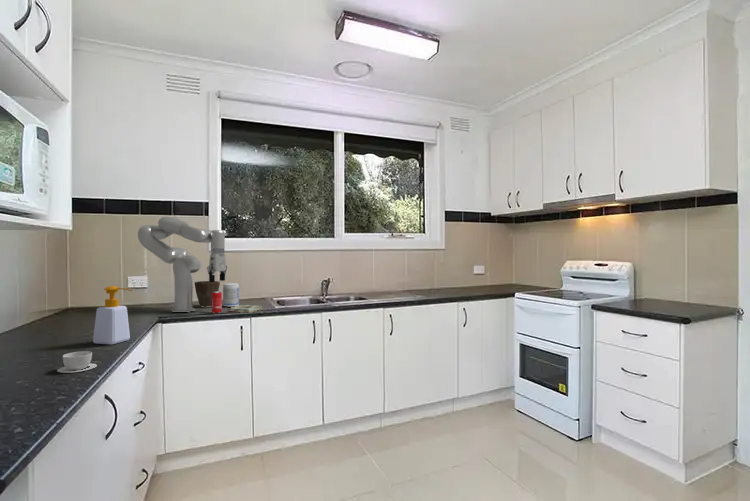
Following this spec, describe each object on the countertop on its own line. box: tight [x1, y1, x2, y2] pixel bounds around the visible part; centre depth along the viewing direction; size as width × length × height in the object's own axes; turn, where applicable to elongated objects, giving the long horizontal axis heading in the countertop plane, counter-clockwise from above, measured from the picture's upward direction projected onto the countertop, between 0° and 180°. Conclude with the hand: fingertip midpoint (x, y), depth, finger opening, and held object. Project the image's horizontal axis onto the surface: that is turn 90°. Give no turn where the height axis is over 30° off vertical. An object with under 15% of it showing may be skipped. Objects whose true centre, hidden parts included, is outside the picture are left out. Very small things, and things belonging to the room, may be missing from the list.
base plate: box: [227, 304, 263, 314], centre depth 245 cm, size 14×14×2 cm
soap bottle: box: [92, 285, 133, 346], centre depth 161 cm, size 10×14×22 cm
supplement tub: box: [222, 282, 240, 307], centre depth 261 cm, size 10×10×15 cm
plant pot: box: [194, 280, 221, 307], centre depth 259 cm, size 15×15×16 cm
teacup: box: [56, 350, 98, 374], centre depth 126 cm, size 10×10×5 cm
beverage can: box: [211, 291, 223, 314], centre depth 236 cm, size 5×5×12 cm
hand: (217, 281), depth 236 cm, fingers open, 9 cm apart
